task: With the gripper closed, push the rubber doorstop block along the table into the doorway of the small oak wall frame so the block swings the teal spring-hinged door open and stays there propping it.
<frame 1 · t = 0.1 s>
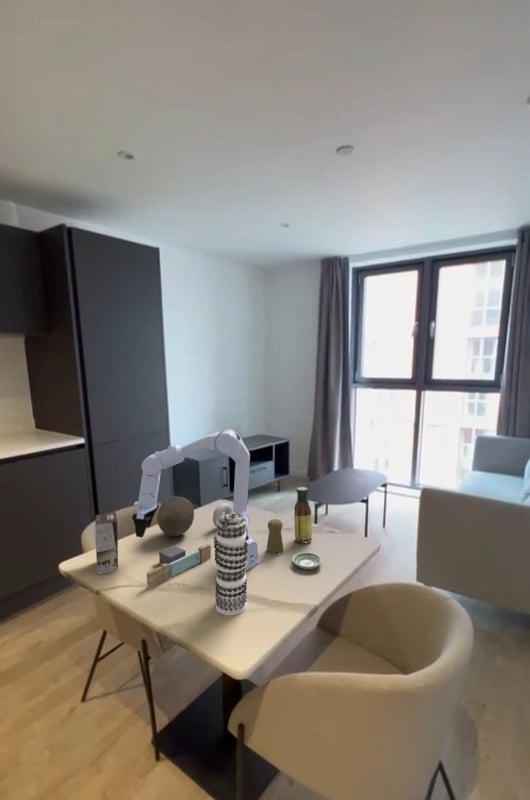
hand: (143, 531, 126), 11 cm above the table, tool pointing down, fingers open, 7 cm apart
doorstop: (172, 562, 127), on the table
decorative candle: (231, 605, 105), on the table
door: (184, 564, 122), point 2 cm above the table, hinge at 0.0°
cork: (274, 551, 135), on the table
coffee box: (107, 566, 125), on the table
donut: (223, 528, 155), on the table
cantaloupe: (176, 536, 147), on the table
saucer: (306, 566, 126), on the table
sauce bottle: (302, 541, 144), on the table
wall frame: (183, 570, 122), on the table
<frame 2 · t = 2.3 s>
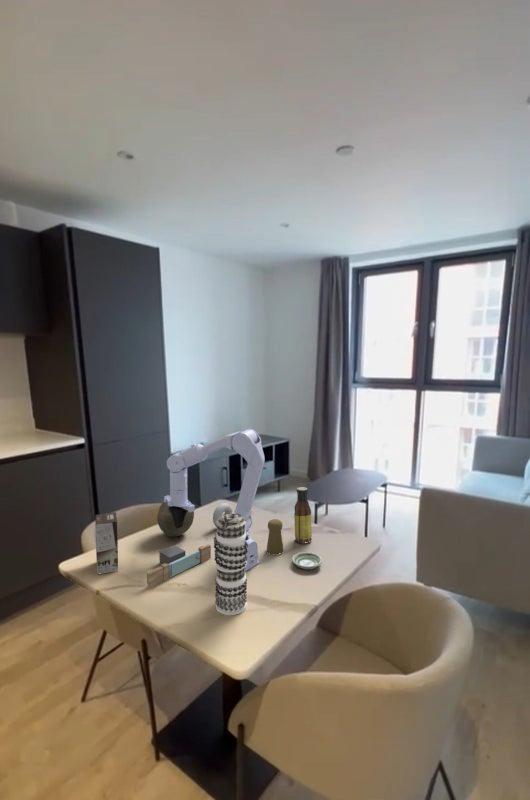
hand: (178, 526, 132), 10 cm above the table, tool pointing down, fingers closed
nothing on the table moved.
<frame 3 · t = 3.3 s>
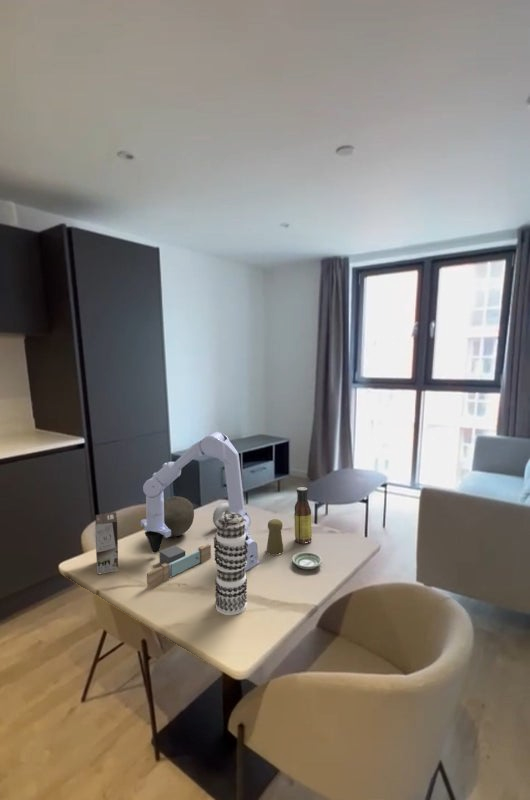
hand: (155, 551, 130), 2 cm above the table, tool pointing down, fingers closed
nothing on the table moved.
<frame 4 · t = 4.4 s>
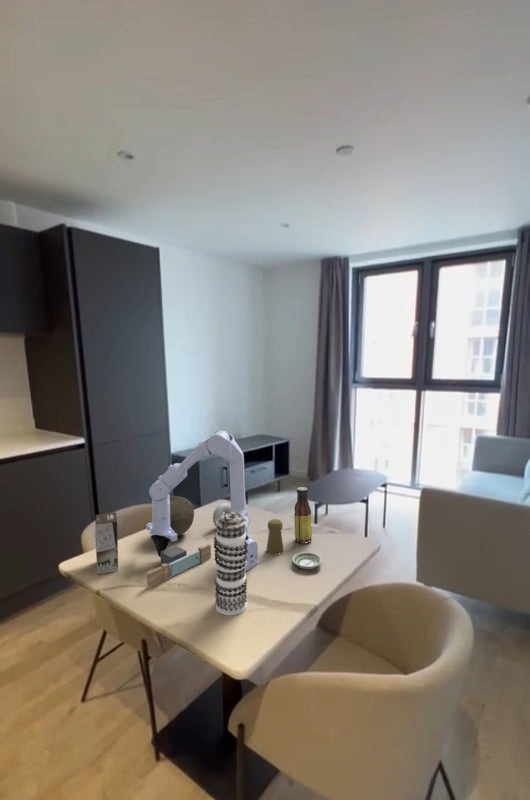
hand: (161, 555, 128), 2 cm above the table, tool pointing down, fingers closed
doorstop: (173, 562, 127), on the table, touching gripper
everything else where it was.
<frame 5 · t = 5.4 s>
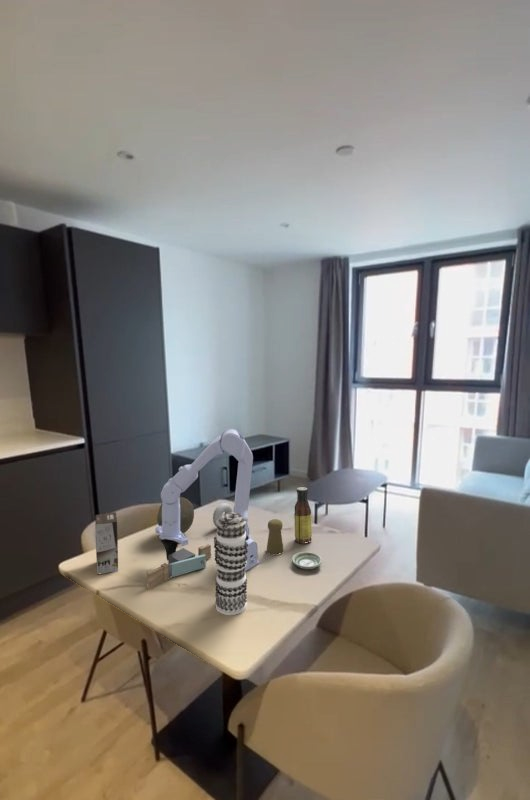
hand: (171, 560, 125), 2 cm above the table, tool pointing down, fingers closed, pressing on doorstop
doorstop: (181, 566, 124), on the table, touching door, gripper
door: (187, 566, 120), point 2 cm above the table, hinge at 18.8°, touching doorstop
everything else where it was.
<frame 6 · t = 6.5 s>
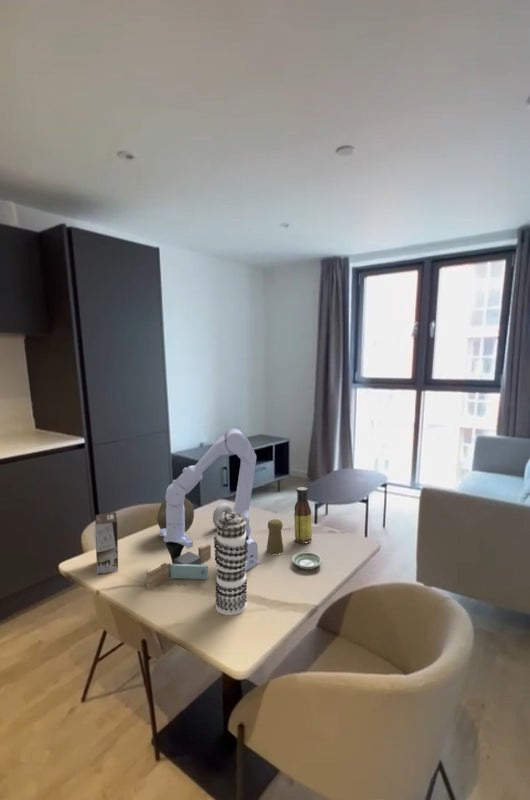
hand: (175, 562, 123), 2 cm above the table, tool pointing down, fingers closed
doorstop: (187, 569, 122), on the table, touching door, gripper
door: (187, 572, 117), point 2 cm above the table, hinge at 53.1°, touching doorstop
everything else where it was.
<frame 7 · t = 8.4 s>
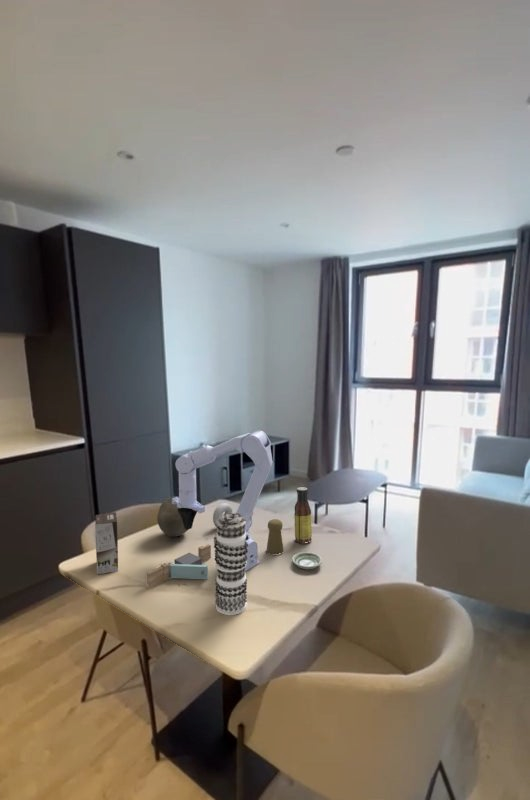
hand: (188, 528, 131), 9 cm above the table, tool pointing down, fingers closed
doorstop: (188, 571, 122), on the table
door: (187, 572, 117), point 2 cm above the table, hinge at 53.6°
everything else where it was.
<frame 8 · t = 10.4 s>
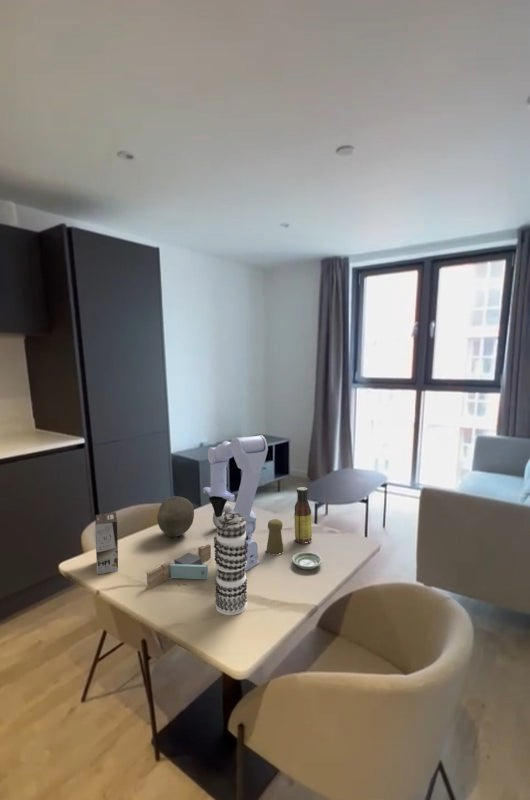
hand: (218, 515, 141), 10 cm above the table, tool pointing down, fingers closed
nothing on the table moved.
at the end: door at +54° (first picture: +0°); doorstop inside the target area (0.6 cm from its centre), on the table; doorstop touching table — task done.
